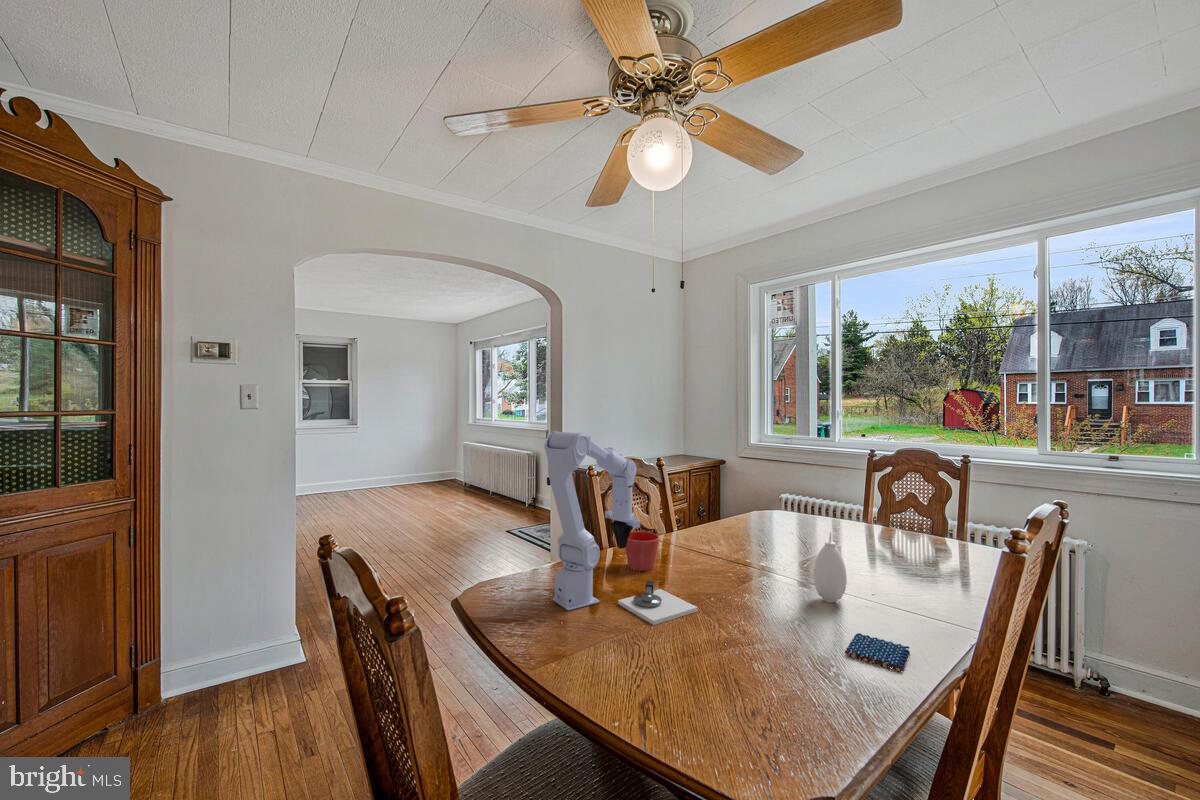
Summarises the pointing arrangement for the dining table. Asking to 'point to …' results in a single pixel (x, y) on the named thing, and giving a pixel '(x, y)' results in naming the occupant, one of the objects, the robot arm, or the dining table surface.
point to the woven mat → (878, 651)
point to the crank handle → (648, 597)
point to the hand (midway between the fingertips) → (621, 547)
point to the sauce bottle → (830, 573)
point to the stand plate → (660, 608)
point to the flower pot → (642, 550)
